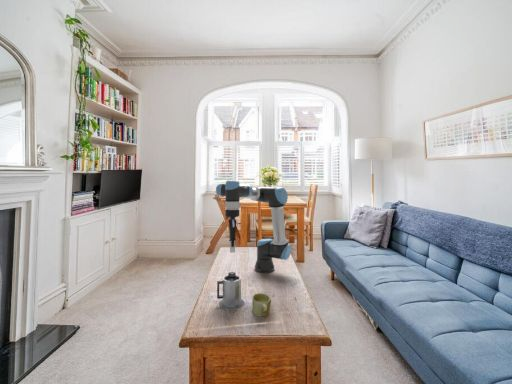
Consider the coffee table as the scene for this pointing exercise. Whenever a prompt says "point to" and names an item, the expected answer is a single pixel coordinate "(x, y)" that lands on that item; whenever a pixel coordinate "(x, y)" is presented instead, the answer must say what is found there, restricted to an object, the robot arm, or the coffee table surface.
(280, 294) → the coffee table surface
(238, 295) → the grey french press
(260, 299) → the mug
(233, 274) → the plunger
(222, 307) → the coaster
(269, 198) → the robot arm
